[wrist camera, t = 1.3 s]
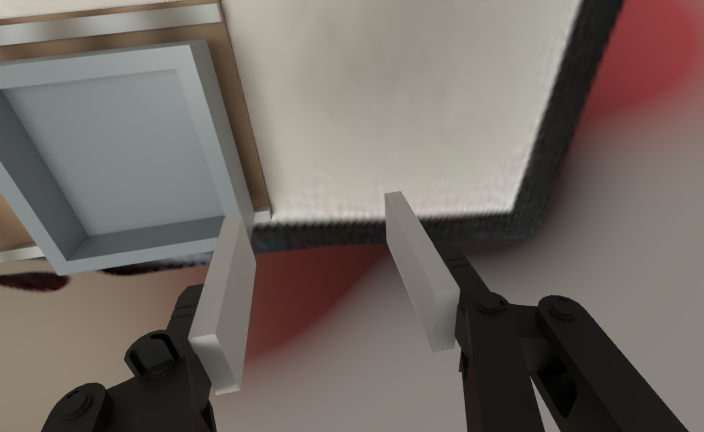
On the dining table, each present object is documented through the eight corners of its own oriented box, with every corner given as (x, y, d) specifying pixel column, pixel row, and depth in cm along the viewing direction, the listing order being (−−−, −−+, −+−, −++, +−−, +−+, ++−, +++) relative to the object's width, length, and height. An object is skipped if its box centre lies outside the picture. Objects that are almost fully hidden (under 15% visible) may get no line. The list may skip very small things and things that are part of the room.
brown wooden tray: (219, -3, 27) (209, -4, 24) (272, 213, 38) (270, 234, 35) (-272, 47, 25) (-361, 54, 21) (-68, 266, 35) (-106, 294, 32)
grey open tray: (213, 35, 28) (189, 44, 21) (257, 200, 36) (249, 244, 29) (12, 57, 27) (-82, 75, 20) (103, 223, 34) (58, 275, 28)
